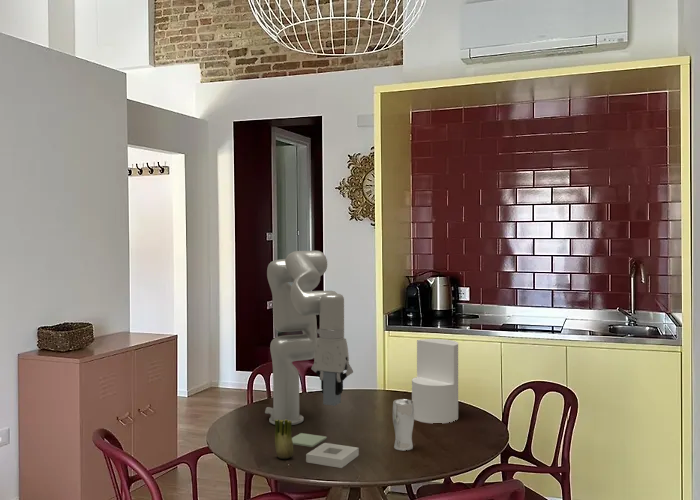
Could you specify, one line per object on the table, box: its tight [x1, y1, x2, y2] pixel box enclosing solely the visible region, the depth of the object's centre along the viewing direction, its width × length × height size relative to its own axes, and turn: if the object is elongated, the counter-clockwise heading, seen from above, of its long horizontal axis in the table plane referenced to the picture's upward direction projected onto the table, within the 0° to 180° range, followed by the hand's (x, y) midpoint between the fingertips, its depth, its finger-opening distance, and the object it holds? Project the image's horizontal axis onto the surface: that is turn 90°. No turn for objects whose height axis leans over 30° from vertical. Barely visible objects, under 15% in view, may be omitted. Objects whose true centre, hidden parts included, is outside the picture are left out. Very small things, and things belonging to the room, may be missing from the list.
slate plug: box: [322, 372, 342, 407], centre depth 206 cm, size 4×4×10 cm
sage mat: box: [292, 432, 328, 448], centre depth 224 cm, size 10×10×1 cm
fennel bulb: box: [274, 419, 294, 460], centre depth 208 cm, size 6×5×12 cm
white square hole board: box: [305, 442, 360, 469], centre depth 207 cm, size 12×12×2 cm
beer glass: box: [392, 398, 415, 452], centre depth 217 cm, size 7×7×15 cm
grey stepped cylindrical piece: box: [411, 338, 459, 424], centre depth 252 cm, size 17×17×28 cm
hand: (332, 392), depth 206 cm, fingers closed on slate plug, 4 cm apart
